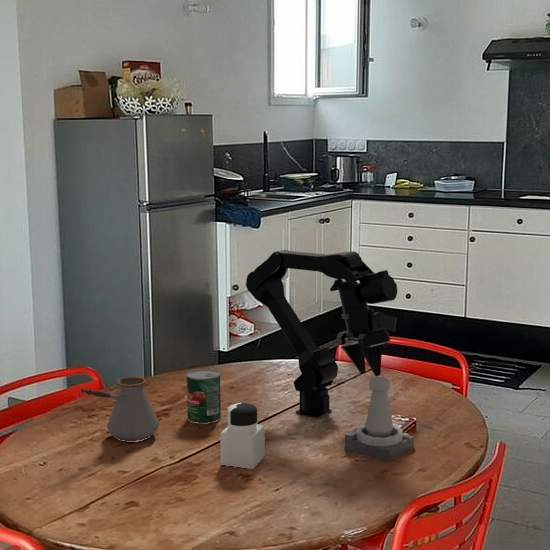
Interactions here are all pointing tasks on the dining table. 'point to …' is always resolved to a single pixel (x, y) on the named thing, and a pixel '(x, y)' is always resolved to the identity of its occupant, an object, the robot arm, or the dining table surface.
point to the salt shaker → (379, 409)
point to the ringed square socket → (379, 443)
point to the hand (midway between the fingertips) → (370, 374)
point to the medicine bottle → (242, 438)
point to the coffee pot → (130, 410)
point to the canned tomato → (203, 395)
